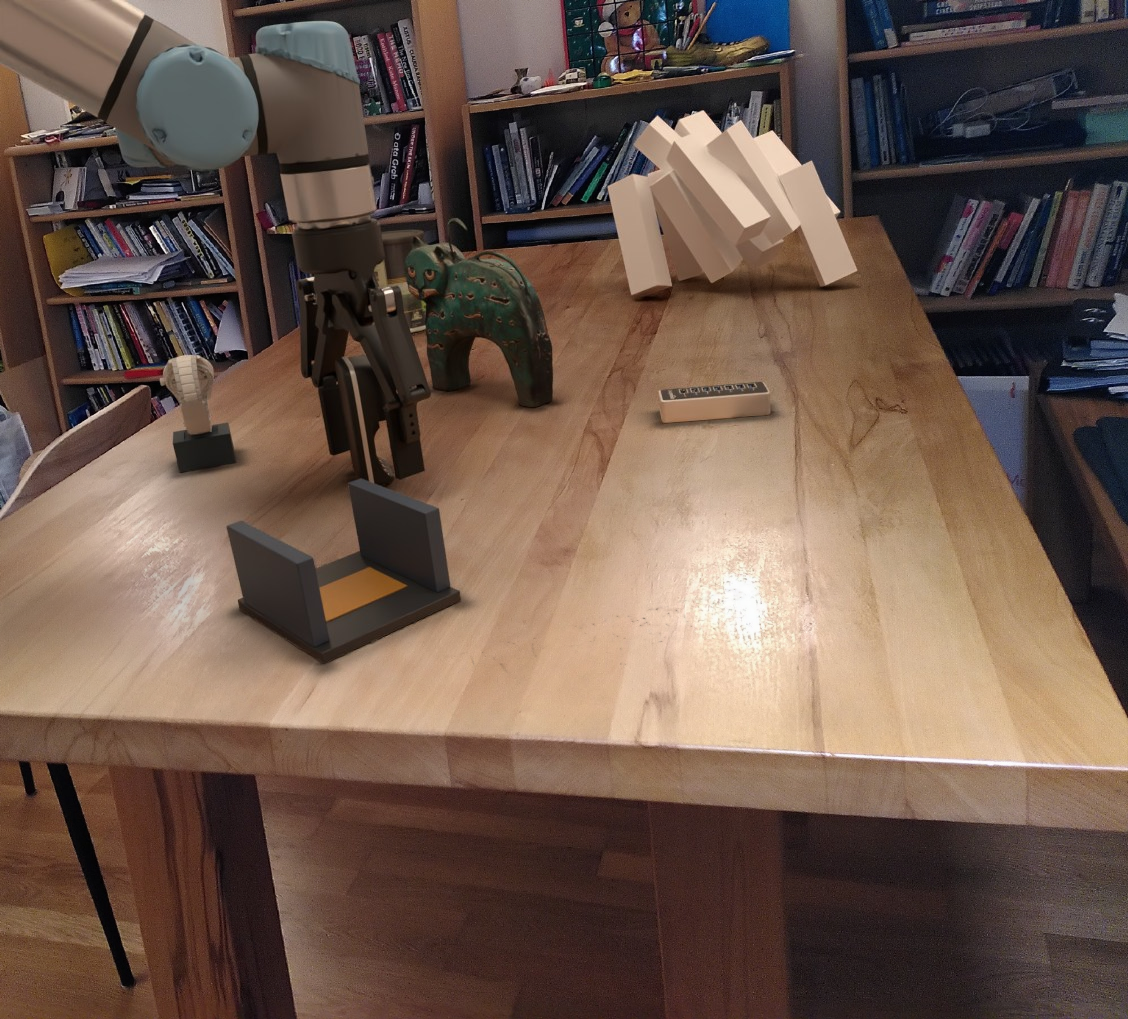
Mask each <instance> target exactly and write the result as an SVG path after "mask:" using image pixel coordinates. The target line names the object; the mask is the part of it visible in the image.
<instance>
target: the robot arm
mask: <svg viewBox="0 0 1128 1019" xmlns="http://www.w3.org/2000/svg"><path fill="white" fill-rule="evenodd" d="M255 42H256V45H255V47H254V49H255V50H254V51H255V53H248V54H247V55H239V56H237V57H228V56H226V55H224V54H222V53H221V52H219V51H218V50H216V49H214V48H212V47H209V46H203V45H199V44H196V43H195V42H193V41H192V40H190V39H188V38H187V37H185V36H183V35H182V34H180V33H178V32H177V31H175V30H174V29H172V28H170V27H169V26H167V25H166V24H163V23H162V22H160V21H159V20H158V21H157V20H155V19H154V18H152V17H150V16H149V15H148V14H146V12H145V11H143V10H141V9H140V8H138V7H136V6H134V5H133V4H131V3H130V2H128V1H126V0H0V65H1V66H2V67H4V68H5V69H8V70H10V71H12V72H13V73H15V74H17V75H19V76H21V77H22V78H24V79H26V80H28V81H30V82H32V83H34V84H35V85H37V86H39V87H41V88H43V89H44V90H47V91H48V92H50V93H51V94H54V95H56V96H58V97H59V98H61V99H63V100H65V101H67V102H69V103H70V104H72V105H74V106H76V107H78V108H80V109H81V110H83V111H84V112H87V113H88V114H90V115H92V116H94V117H96V118H98V119H100V120H101V121H103V122H105V123H106V124H107V125H109V126H111V127H112V128H114V130H115V134H116V138H117V142H118V146H119V150H120V153H121V157H122V160H123V161H124V162H125V163H126V164H127V165H129V166H130V167H134V168H153V167H159V168H162V169H163V168H171V167H174V166H175V165H179V166H181V167H182V168H184V169H187V170H190V171H195V172H211V171H214V170H219V169H223V168H227V167H229V166H231V165H232V164H233V163H234V162H237V161H238V160H239V159H240V158H241V157H242V158H243V157H249V156H264V155H267V154H276V156H277V159H278V163H279V164H278V165H279V171H280V179H281V185H282V191H283V196H284V201H285V206H286V213H287V216H288V220H289V221H290V222H291V223H293V224H294V223H295V224H296V227H295V228H294V229H293V232H291V237H292V242H293V248H294V254H295V258H296V265H297V268H298V270H299V271H301V272H302V273H304V274H308V275H313V276H310V277H306V278H302V279H296V281H295V287H296V293H297V297H298V302H299V303H298V304H299V336H300V337H299V339H300V340H299V341H300V342H299V344H300V371H301V372H300V373H301V375H302V377H303V378H304V379H308V378H310V379H311V383H312V385H313V387H314V388H317V392H318V397H319V398H318V399H319V403H320V409H321V414H322V420H323V426H324V429H325V436H326V441H327V448H328V451H329V455H331V456H338V455H340V454H343V453H346V452H350V449H349V444H348V438H347V432H346V427H345V421H344V416H343V410H342V405H341V399H340V393H339V387H338V382H337V376H336V369H335V361H336V360H337V359H340V358H342V357H346V356H345V355H346V349H347V345H348V338H349V335H350V338H352V340H353V341H355V342H357V343H359V344H360V346H361V349H362V350H363V352H364V355H366V356H367V359H368V361H369V363H370V365H371V367H372V369H373V371H374V373H375V375H376V377H377V379H378V381H379V384H380V386H381V388H382V390H383V392H384V394H385V396H386V398H387V400H388V404H386V405H385V406H384V407H383V409H384V411H385V417H386V420H385V421H386V422H385V423H386V429H387V435H388V436H387V437H388V442H389V448H390V453H391V460H392V467H393V474H394V479H396V480H399V481H402V480H404V479H407V478H410V477H412V476H415V475H418V474H420V473H423V472H425V471H426V468H425V463H424V462H425V461H424V456H423V449H422V443H421V429H420V422H419V416H418V410H417V406H418V404H419V402H422V401H424V400H425V401H426V400H428V399H430V398H431V396H432V392H431V389H430V386H429V382H428V380H427V376H426V374H425V372H424V371H425V370H424V368H423V365H422V361H421V360H420V358H421V357H420V356H419V353H418V349H417V347H416V343H415V341H414V337H413V333H411V331H410V328H409V325H408V322H407V319H406V316H405V313H404V307H403V300H402V293H401V289H400V287H399V286H398V285H394V286H390V287H385V288H384V287H380V286H379V284H378V282H377V279H376V276H375V273H374V269H375V267H376V265H378V264H380V263H382V262H383V260H384V258H385V253H384V247H383V240H382V234H381V232H382V228H381V223H380V221H378V219H376V218H372V215H373V214H375V212H376V211H378V206H377V200H376V194H375V187H374V183H375V179H374V178H375V177H374V176H373V175H372V169H371V164H370V163H371V160H370V155H369V147H368V140H367V133H366V126H365V118H364V112H363V103H362V96H361V91H360V90H361V89H360V85H361V80H360V78H359V76H358V72H357V68H356V63H355V57H354V53H353V49H352V43H351V39H350V36H349V33H348V31H347V29H345V28H344V26H342V25H341V24H340V23H339V22H335V21H328V20H313V21H311V20H310V21H299V22H289V23H280V24H273V25H266V26H263V27H260V28H259V29H258V30H257V31H256V35H255ZM387 314H388V315H387ZM373 323H374V324H373ZM372 324H373V325H372ZM312 362H313V363H312Z"/></svg>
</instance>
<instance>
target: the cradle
mask: <svg viewBox="0 0 1128 1019" xmlns="http://www.w3.org/2000/svg"><path fill="white" fill-rule="evenodd" d="M347 487H348V492H349V497H350V503H351V509H352V515H353V520H354V525H355V531H356V536H357V542H358V548H359V551H355V552H353V553H351V554H348V555H345V556H343V557H340V558H338V559H335V560H333V561H331V562H328V563H326V564H324V565H320V566H318V567H316V564H315V559H314V556H312V555H310V554H307V553H305V552H304V551H302V550H300V549H298V548H296V547H294V546H292V545H290V544H288V543H286V542H284V541H283V540H280V539H278V538H276V537H274V536H272V535H271V534H269V533H268V532H265V531H264V530H261V529H260V528H257V527H256V526H253V525H252V524H250V523H248V522H245V521H244V520H239V521H236V522H233V523H230V524H227V525H226V526H225V527H226V531H227V535H228V536H227V537H228V540H229V544H230V548H231V552H232V553H231V554H232V557H233V562H234V565H235V570H236V574H237V579H238V583H239V587H240V588H239V589H240V591H241V595H242V597H240V598H238V599H236V600H237V606H238V610H240V611H241V612H244V613H245V614H246V615H248V616H249V617H251V618H253V619H254V620H256V621H257V622H259V624H261V625H263V626H265V627H267V628H268V629H269V630H271V631H272V632H274V633H275V634H277V635H279V636H280V637H282V638H283V639H285V640H287V641H288V642H290V643H291V644H292V645H294V646H296V647H297V648H299V649H300V650H302V651H304V652H305V653H306V654H308V655H309V656H311V657H313V658H314V659H315V660H317V661H318V662H320V663H321V664H326V663H329V662H331V661H333V660H335V659H337V658H340V657H342V656H344V655H346V654H348V653H350V652H352V651H355V650H357V649H359V648H361V647H363V646H365V645H367V644H370V643H372V642H374V641H376V640H379V639H380V638H383V637H385V636H387V635H390V634H392V633H394V632H396V631H398V630H400V629H402V628H405V627H407V626H409V625H411V624H413V623H415V622H418V621H420V620H422V619H424V618H426V617H429V616H430V615H432V614H434V613H437V612H439V611H441V610H444V609H445V608H448V607H450V606H452V605H454V604H456V603H459V602H461V593H460V590H458V589H456V588H455V587H452V586H451V580H450V574H449V567H448V561H447V554H446V547H445V540H444V532H443V525H442V518H441V513H440V508H439V507H436V506H434V505H432V504H429V503H426V502H424V501H421V500H419V499H416V498H413V497H411V496H408V495H406V494H403V493H401V492H398V491H395V490H392V489H390V488H387V487H385V486H383V485H381V486H380V485H377V484H374V483H372V482H369V481H367V480H364V479H358V478H357V479H356V480H352V481H350V482H347Z"/></svg>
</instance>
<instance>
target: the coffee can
mask: <svg viewBox="0 0 1128 1019" xmlns="http://www.w3.org/2000/svg"><path fill="white" fill-rule="evenodd" d="M381 234H382V240H383V247H384V253H385V258H384V260H383V262H382V263H380V264H378V265H376V267H375V269H374V273H375V276H376V279H377V282H378V284H379V286H380V287H384V288H385V287H390V286H394V285H398V286H399V287H400V289H401V293H402V300H403V307H404V313H405V316H406V319H407V322H408V325H409V328H410V331H411V334H413V333H419V332H423V331H426V327H425V315H426V303H425V302H424V301H422V300H419V299H417V298H416V297H414V296H413V295H412V294H411V293H410V292H409V290H408V284H407V281H406V274H405V260H406V258H407V256H408V254H409V253H410V252H411V251H412V245H413V243H412V241H413V236H416V237H418V238H419V239H420V240H421V241H422V242H424V243H425V238H424V237H425V231H424V230H421V229H399V230H397V229H396V230H388V231H381ZM387 315H388V314H387ZM373 324H374V323H373ZM373 324H372V325H373Z"/></svg>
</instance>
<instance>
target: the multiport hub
mask: <svg viewBox="0 0 1128 1019" xmlns="http://www.w3.org/2000/svg"><path fill="white" fill-rule="evenodd" d="M658 407H659V408H658V409H659V415H660V419H661V423H663V424H670V423H671V424H672V423H681V422H696V421H708V420H709V421H710V420H719V419H720V420H721V419H731V418H732V419H735V418H745V417H747V418H748V417H757V416H759V417H760V416H768V415H771V391H770V390H769V388H768V386H767V385H766V383H765V382H764V381H752V382H751V381H750V382H739V383H738V382H737V383H725V384H714V385H713V384H712V385H700V386H689V387H687V386H686V387H677V388H676V387H675V388H664V389H660V390H658Z"/></svg>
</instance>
